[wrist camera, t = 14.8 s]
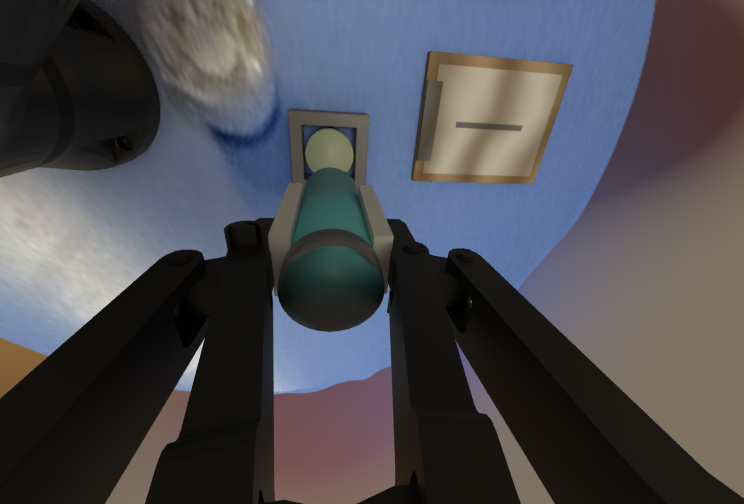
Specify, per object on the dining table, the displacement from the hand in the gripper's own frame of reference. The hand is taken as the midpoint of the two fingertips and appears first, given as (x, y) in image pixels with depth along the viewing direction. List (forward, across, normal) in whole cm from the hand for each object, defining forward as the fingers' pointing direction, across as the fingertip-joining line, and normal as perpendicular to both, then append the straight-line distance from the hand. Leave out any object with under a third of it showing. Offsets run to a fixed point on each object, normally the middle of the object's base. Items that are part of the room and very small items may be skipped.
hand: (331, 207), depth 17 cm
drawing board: (+19, +18, +3) cm, 26 cm away
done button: (+18, 0, 0) cm, 18 cm away
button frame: (+19, 0, 0) cm, 19 cm away
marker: (+5, 0, 0) cm, 5 cm away
